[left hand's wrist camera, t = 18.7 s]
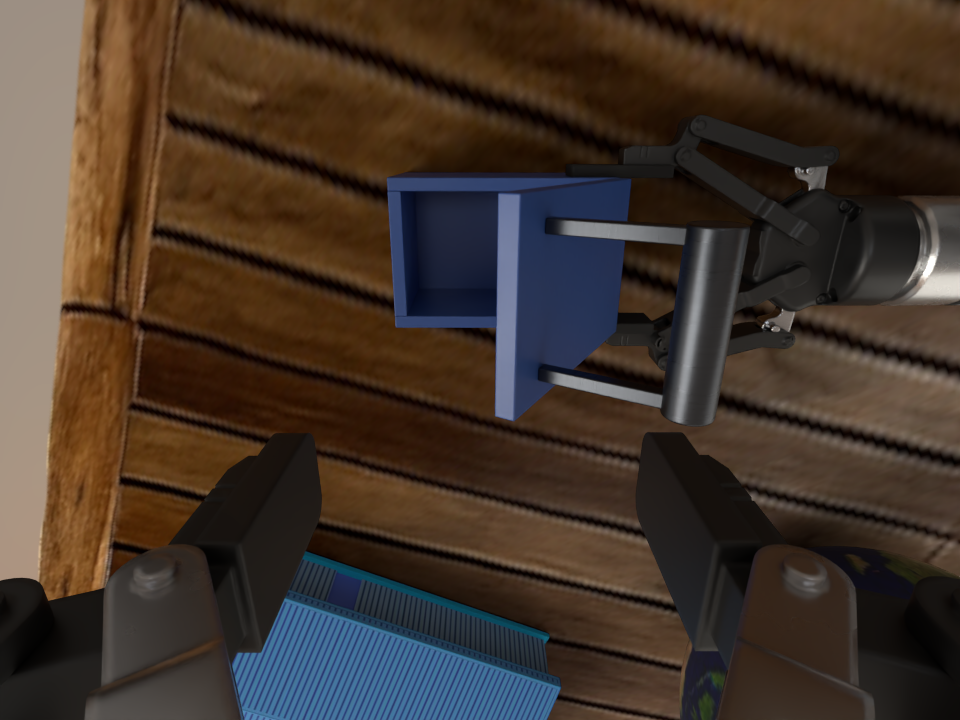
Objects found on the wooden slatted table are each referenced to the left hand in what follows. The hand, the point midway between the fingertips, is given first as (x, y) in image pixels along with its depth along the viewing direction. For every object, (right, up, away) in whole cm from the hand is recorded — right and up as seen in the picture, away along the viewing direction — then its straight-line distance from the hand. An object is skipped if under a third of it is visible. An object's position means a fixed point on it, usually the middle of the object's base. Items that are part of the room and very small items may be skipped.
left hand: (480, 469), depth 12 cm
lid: (+5, +7, +17) cm, 19 cm away
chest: (+2, +12, +31) cm, 34 cm away
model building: (-15, -31, +48) cm, 59 cm away
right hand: (+6, +10, +25) cm, 28 cm away
